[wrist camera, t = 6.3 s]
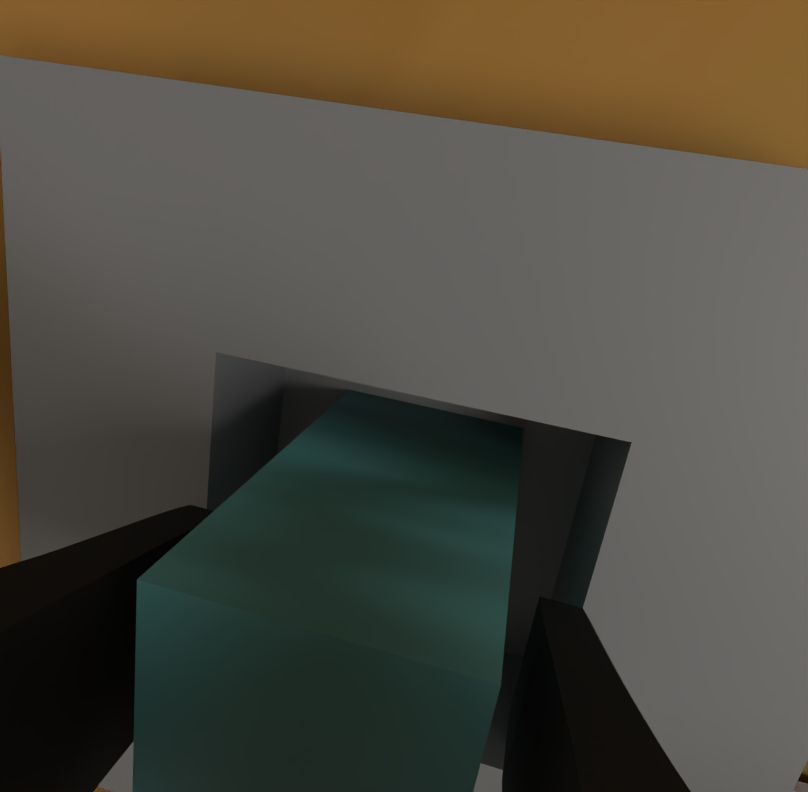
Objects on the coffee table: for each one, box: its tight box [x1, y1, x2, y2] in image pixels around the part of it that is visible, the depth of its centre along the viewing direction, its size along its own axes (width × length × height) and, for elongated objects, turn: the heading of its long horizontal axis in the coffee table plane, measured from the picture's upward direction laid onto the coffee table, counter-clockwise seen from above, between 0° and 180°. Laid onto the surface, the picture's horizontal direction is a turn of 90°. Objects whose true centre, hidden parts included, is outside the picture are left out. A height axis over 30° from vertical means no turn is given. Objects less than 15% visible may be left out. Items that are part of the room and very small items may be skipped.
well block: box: [0, 55, 808, 792], centre depth 12 cm, size 14×14×4 cm
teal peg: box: [133, 390, 524, 792], centre depth 9 cm, size 4×4×7 cm
